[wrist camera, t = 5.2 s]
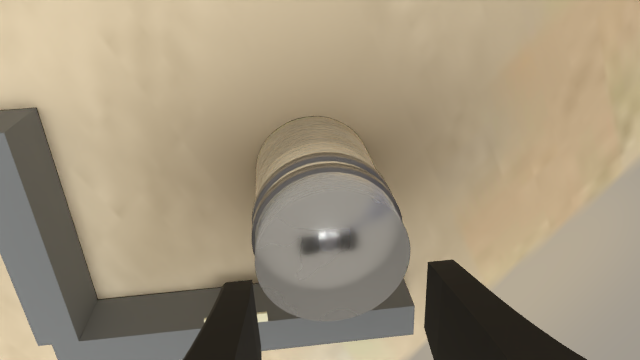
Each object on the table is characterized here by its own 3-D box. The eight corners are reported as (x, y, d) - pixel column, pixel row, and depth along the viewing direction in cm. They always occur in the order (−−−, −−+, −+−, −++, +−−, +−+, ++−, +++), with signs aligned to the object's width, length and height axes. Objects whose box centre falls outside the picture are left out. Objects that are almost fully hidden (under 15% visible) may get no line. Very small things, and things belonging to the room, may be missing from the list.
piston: (374, 111, 19) (420, 183, 13) (368, 218, 21) (407, 317, 15) (249, 116, 18) (246, 192, 13) (256, 224, 20) (256, 329, 15)
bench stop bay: (404, 79, 18) (424, 100, 16) (399, 296, 23) (414, 336, 20) (-9, 111, 17) (-50, 137, 15) (70, 330, 22) (48, 376, 20)
